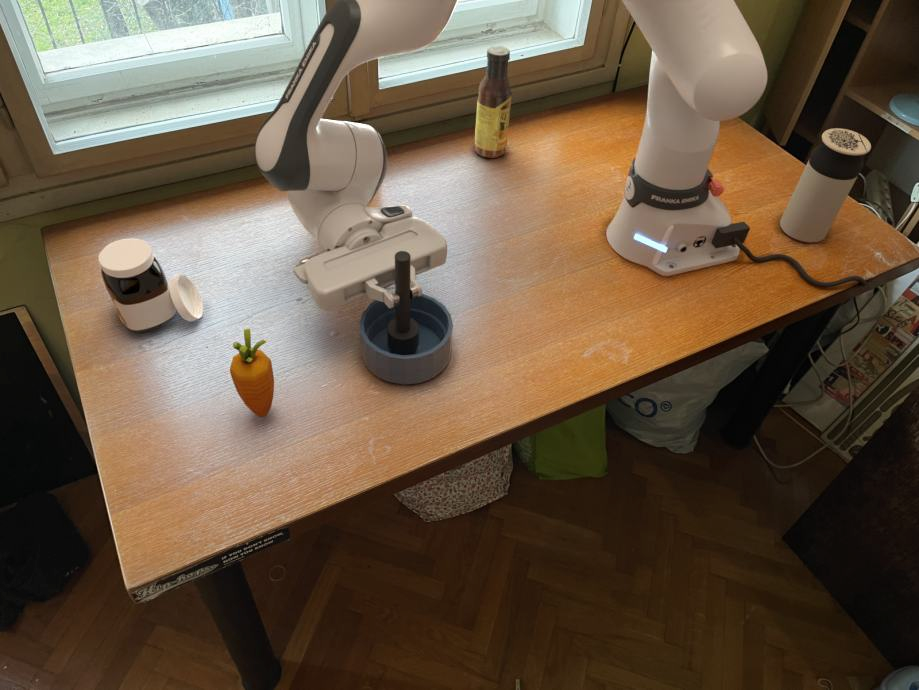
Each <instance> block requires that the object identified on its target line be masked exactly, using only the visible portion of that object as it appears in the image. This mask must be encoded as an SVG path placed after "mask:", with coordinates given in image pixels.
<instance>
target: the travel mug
mask: <svg viewBox="0 0 919 690" xmlns="http://www.w3.org/2000/svg"><path fill="white" fill-rule="evenodd" d="M871 149H872V145H871V142H870V141H869V139H868V138H867V137H865V136H864V135H863V134H861V133H859V132H856V131H854V130H850V129H848V128H840V127H839V128H838V127H835V128H829V129H826V130H825V131H824V132H823V133H822V135H821V143H820V144H819V145H817V146H816V147H814V149H813V150H812V152H811V154H810V156H809V158H808V161H807V163H806V165H805V167H804V169H803V172H802V173H801V176H800V178H799V179H798V182H797V184H796V186H795V188H794V190H793V192H792V195H791V197H790V200H789V201H788V204H787V205H786V207H785V209H784V212H783V214H782V216H781V217H780V221H779V226H780V228H781V230H782V231H783V232H784V233H785V234H786V235H787V236H789V237H790V238H792V239H794V240H797V241H800V242H803V243H818V242H822V241H823V240H824V239H826V237H827V234H828V233H829V232H830V229H831V227H832V225H833V223H834V221H836V218H837V216H838V215H839V212H840V211H841V209H842V207H843V205H844V203H845V201H846V199H847V197H848V196H849V194H850V192H851V190H852V188H853V186H854V184H855V182H856V180H857V179H858V177H859V175H860V173H861V171H862V170H863V168H864V164H865V163H864V157H865V155H866V154H868V153H869V152H870V151H871Z"/></svg>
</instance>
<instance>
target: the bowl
mask: <svg viewBox="0 0 919 690" xmlns="http://www.w3.org/2000/svg"><path fill="white" fill-rule="evenodd" d="M395 318H396V307H393V308H391V309H390V308H388V306H387V305H386V304H385V303H384V302H381V301H377V300H374V301H372V302H370V303H369V304H368V306H367V307H366V308H365V309H364V310H363V312H362V313H361V316H360V319H359V322H358V325H359V336H360V337H359V338H360V348H361V349H360V350H361V359H362V361H363V363H364V365H365V366H366V368H367V369H368V371H370V373H372V374H373V375H374V376H376V378H379V379H381V380H384V381H387V382H388V383H393V384H399V385H413V384H420V383H423V382H426V381H429V380H431V379H433V378H435V377H436V376H438V375H439V374H440V373H442V372H443V371H444V370H445V368H446V367H447V365H448V364H449V363H450V360H451V355H452V351H453V333H454V323H453V318H452V315H451V313H450V311H449V310H448V308H447V307H446V306H445V305H444V304H443V303H441V302H440V301H439V300H438V299H436V298H434V297H432V296H429V295H427V294H425V293H422V295H421V296H419V297H417V298H414V299H410V318H412V319H414V320H415V321H416V322H417V323H418V325H419V345H418V348H417V349H416V350H415V351H414V352H412V353H410V354H406V355H401V354H396V353H394V352H392V351H391V350H390V349H389V347H388V337H387V326H388V324H389V322H390V321H391V320H393V319H395Z"/></svg>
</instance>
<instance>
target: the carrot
mask: <svg viewBox="0 0 919 690" xmlns="http://www.w3.org/2000/svg"><path fill="white" fill-rule="evenodd" d="M243 339H244V344H241V343H240V342H238V341H235V342H233V343H232V348H233V349H235V350H236V351H238V353H237V354H235V355H234V356H233V357H232V360H231V363H230V367H229V373H230V377H231V379H232V383H233V385H234V387H235V390H236V392H237V394H238V396H239V398H240V400H242V402H243V404H244V405H245V406H246V407H247V408H248V409H249V410H250V411H251V412H252V413H253V414H254V415H255V416H257V417H259V418H265V417H266V416H268V414H269V412H270V411H271V409H272V404H273V400H274V394H275V393H274V392H275V378H274V370H273V365H272V360H271V359H270V357H269V356H268V355H266V354H265V352H264V351H263V350H261V349H260V347H262V346H263V345H265V344H266V343H267V340H265V339H261V340H259V341H257V342H256V343H255V344H254V345H253V347H252V340H251V339H252V337H251V328H245V329H243Z"/></svg>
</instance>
